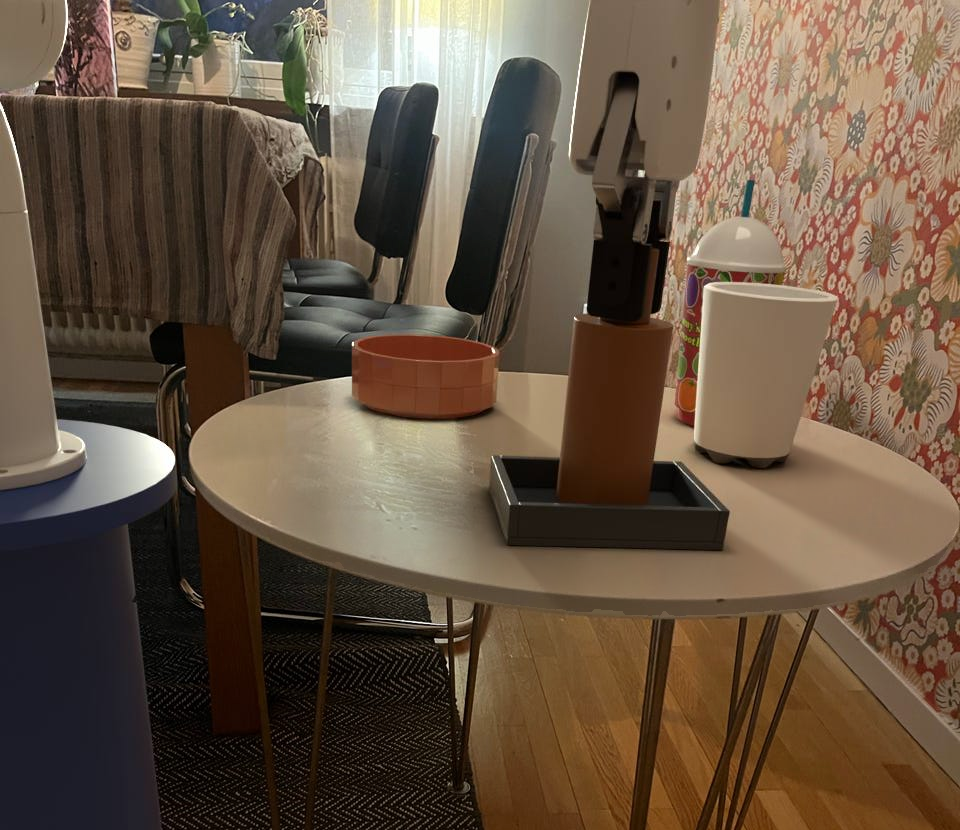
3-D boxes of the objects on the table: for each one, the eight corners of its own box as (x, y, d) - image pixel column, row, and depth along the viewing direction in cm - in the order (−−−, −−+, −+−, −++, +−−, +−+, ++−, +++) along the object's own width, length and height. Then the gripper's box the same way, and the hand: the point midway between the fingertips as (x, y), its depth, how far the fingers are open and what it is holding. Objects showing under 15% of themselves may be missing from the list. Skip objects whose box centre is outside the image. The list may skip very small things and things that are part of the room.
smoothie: (644, 417, 87) (678, 175, 78) (701, 407, 92) (738, 179, 83) (718, 439, 81) (764, 181, 72) (774, 427, 86) (823, 185, 77)
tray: (506, 545, 56) (509, 504, 55) (488, 490, 65) (491, 454, 64) (722, 550, 57) (730, 511, 56) (676, 496, 66) (681, 461, 65)
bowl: (350, 418, 80) (350, 357, 78) (353, 385, 91) (353, 331, 89) (502, 424, 81) (507, 364, 79) (487, 390, 93) (490, 338, 91)
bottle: (564, 514, 58) (592, 248, 51) (549, 484, 63) (573, 239, 56) (657, 517, 58) (697, 254, 51) (634, 487, 63) (668, 245, 57)
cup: (654, 451, 76) (678, 284, 71) (717, 433, 83) (744, 279, 77) (765, 482, 71) (801, 302, 65) (823, 460, 77) (861, 295, 71)
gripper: (643, -39, 55) (605, 295, 63) (541, -114, 42) (510, 322, 50) (774, -40, 52) (717, 308, 61) (711, -120, 39) (648, 341, 47)
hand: (624, 311), depth 55 cm, fingers closed on bottle, 3 cm apart
